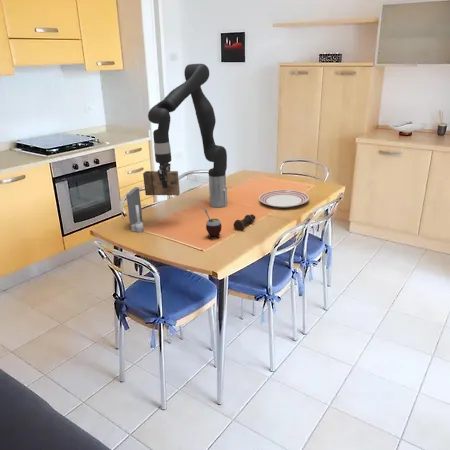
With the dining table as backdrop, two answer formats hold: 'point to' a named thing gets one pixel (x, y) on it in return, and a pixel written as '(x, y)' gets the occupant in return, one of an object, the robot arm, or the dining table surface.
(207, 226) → the mate gourd
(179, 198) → the dining table surface
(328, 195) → the dining table surface
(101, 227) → the dining table surface
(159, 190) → the door
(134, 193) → the cabinet side
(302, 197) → the dinner plate
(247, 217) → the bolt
